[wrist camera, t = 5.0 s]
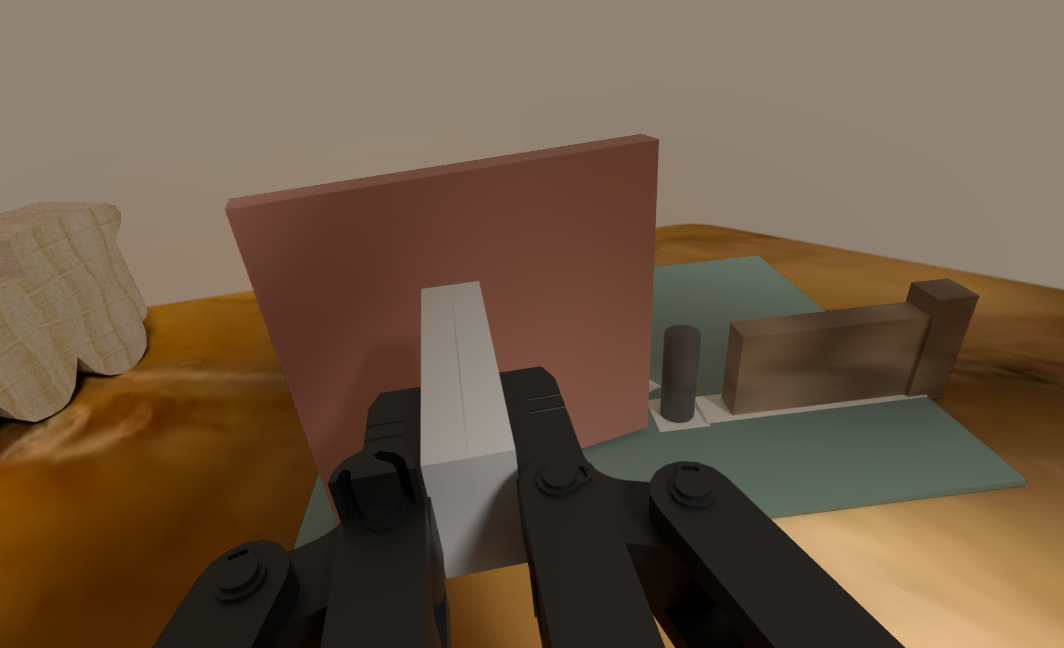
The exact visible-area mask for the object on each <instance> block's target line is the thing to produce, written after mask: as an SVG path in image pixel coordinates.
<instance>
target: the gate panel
mask: <svg viewBox="0 0 1064 648" xmlns="http://www.w3.org/2000/svg"><path fill="white" fill-rule="evenodd" d="M658 147H659V140H658V139H656V138H653V137H649V136H646V135H643V134H638V135H632V136H626V137H619V138H613V139H607V140H600V141H594V142H588V143H581V144H575V145H568V146H562V147H556V148H550V149H543V150H537V151H531V152H524V153H518V154H511V155H505V156H499V157H493V158H486V159H480V160H474V161H467V162H461V163H454V164H448V165H442V166H435V167H429V168H423V169H416V170H410V171H404V172H398V173H391V174H385V175H378V176H372V177H366V178H359V179H353V180H347V181H341V182H335V183H328V184H322V185H315V186H309V187H302V188H296V189H290V190H283V191H277V192H271V193H264V194H258V195H252V196H246V197H239V198H233V199H229V201H228V204H227V206H226V208H225V211H226V214H227V217H228V220H229V222H230V225H231V228H232V231H233V234H234V237H235V239H236V242H237V245H238V248H239V251H240V253H241V256H242V259H243V262H244V265H245V267H246V270H247V273H248V275H249V279H250V281H251V284H252V287H253V290H254V293H255V295H256V298H257V301H258V304H259V307H260V309H261V312H262V315H263V318H264V321H265V323H266V326H267V329H268V332H269V335H270V337H271V340H272V343H273V346H274V349H275V351H276V354H277V357H278V360H279V363H280V365H281V368H282V371H283V374H284V377H285V379H286V382H287V385H288V388H289V390H290V393H291V396H292V399H293V402H294V404H295V407H296V410H297V413H298V416H299V418H300V421H301V424H302V427H303V430H304V432H305V435H306V438H307V441H308V444H309V446H310V449H311V452H312V455H313V458H314V460H315V463H316V466H317V469H318V472H319V474H320V477H321V480H322V483H323V486H324V488H325V491H326V494H327V497H328V500H329V502H330V505H331V508H332V511H333V514H334V516H335V519H336V522H337V525H339V524H340V523H341V521H340V518H339V515H338V513H337V510H336V507H335V504H334V501H333V498H332V495H331V493H330V490H329V487H328V484H327V483H328V481H329V479H330V477H331V474H332V472H333V471H334V470H335V469H336V468H337V467H338V466H339V465H340V464H341V463H342V462H343V461H344V460H345V459H347V458H348V457H350V456H352V455H354V454H355V453H357V452H359V451H362V450H363V444H364V437H365V430H366V422H367V415H368V409H369V408H370V406H371V405H372V404H373V402H374V401H375V399H376V398H377V397H378V395H379V394H380V393H383V392H390V391H396V390H402V389H409V388H415V387H421V289H424V288H432V287H439V286H446V285H453V284H461V283H468V282H475V281H479V283H480V288H481V292H482V297H483V302H484V306H485V311H486V316H487V320H488V325H489V329H490V334H491V339H492V343H493V348H494V353H495V357H496V362H497V367H498V371H499V373H500V372H506V371H512V370H519V369H525V368H531V367H538V366H542V367H543V368H544V369H545V370H546V371H548V372H549V373H550V374H551V375H552V376H554V377H555V379H556V382H557V384H558V387H559V390H560V393H561V396H562V398H563V401H564V403H565V408H566V409H567V412H568V414H569V417H570V420H571V422H572V425H573V428H574V430H575V433H576V436H577V439H578V441H579V444H580V447H581V449H582V448H585V447H588V446H591V445H594V444H597V443H600V442H603V441H606V440H610V439H613V438H616V437H619V436H622V435H625V434H628V433H631V432H634V431H637V430H641V429H644V428H647V427H648V402H649V377H650V351H651V326H652V301H653V276H654V250H655V225H656V200H657V199H656V197H657V173H658Z"/></svg>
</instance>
